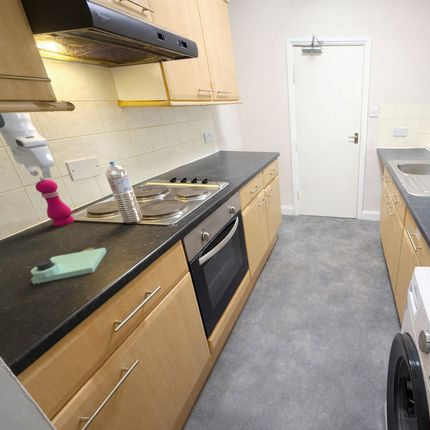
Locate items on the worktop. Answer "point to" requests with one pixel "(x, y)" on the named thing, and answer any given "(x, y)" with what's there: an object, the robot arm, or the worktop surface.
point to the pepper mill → (54, 202)
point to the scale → (69, 265)
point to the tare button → (44, 265)
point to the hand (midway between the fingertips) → (41, 176)
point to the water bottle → (123, 194)
